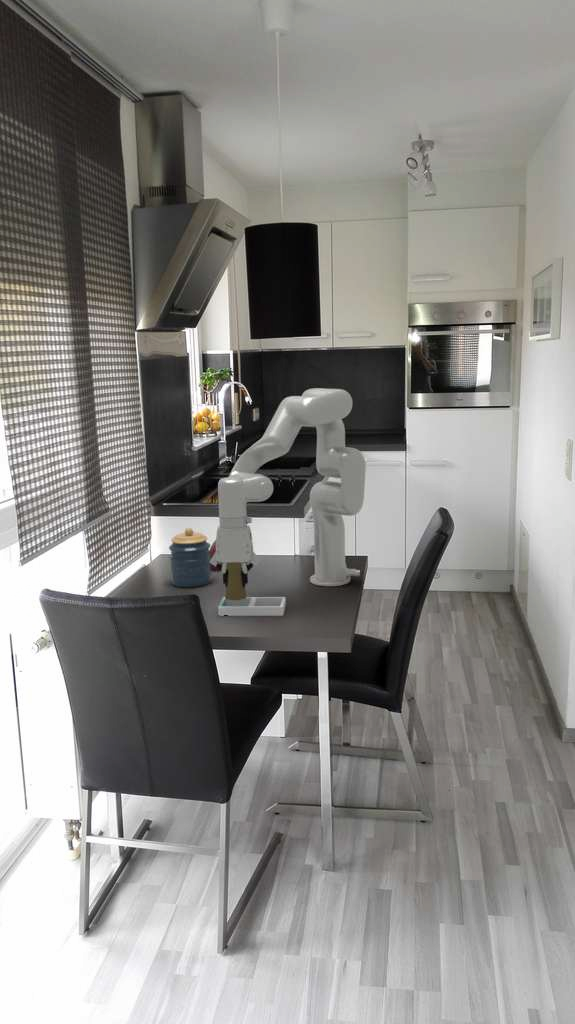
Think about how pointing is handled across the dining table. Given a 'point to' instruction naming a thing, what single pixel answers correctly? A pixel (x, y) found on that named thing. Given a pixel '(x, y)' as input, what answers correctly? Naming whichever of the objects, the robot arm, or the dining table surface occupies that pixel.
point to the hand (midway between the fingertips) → (235, 585)
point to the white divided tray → (253, 606)
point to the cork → (235, 582)
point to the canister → (190, 559)
